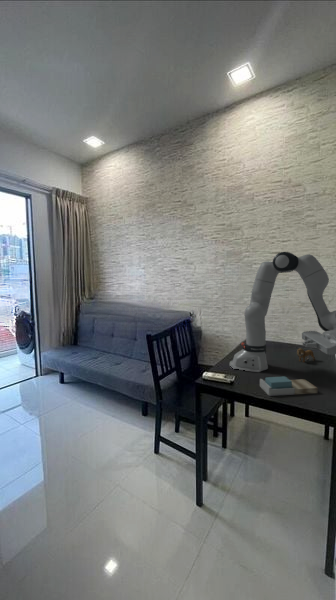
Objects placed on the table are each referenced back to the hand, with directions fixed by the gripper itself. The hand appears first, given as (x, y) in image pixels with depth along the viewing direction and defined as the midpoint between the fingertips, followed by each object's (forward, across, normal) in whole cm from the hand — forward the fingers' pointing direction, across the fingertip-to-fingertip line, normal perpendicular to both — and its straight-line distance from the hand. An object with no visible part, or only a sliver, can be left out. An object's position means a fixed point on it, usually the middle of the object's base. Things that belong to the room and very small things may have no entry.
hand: (304, 344), depth 123 cm
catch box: (+18, +4, +19) cm, 26 cm away
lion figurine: (-20, -30, +30) cm, 47 cm away
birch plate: (+6, +5, +20) cm, 22 cm away
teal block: (+11, +4, +17) cm, 21 cm away
